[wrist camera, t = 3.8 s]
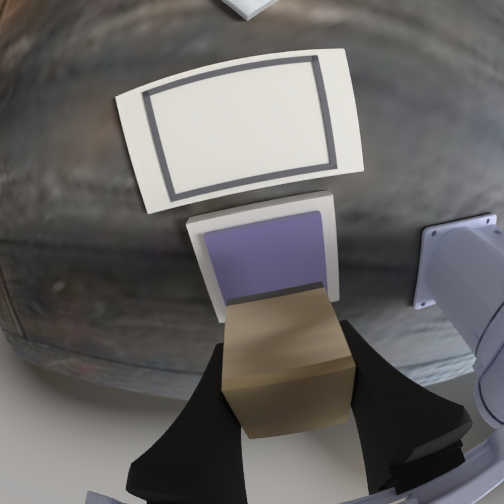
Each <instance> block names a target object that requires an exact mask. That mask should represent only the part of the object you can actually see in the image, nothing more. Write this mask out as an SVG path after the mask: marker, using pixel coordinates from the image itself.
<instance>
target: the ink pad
mask: <svg viewBox="0 0 504 504" xmlns="http://www.w3.org/2000/svg"><path fill="white" fill-rule="evenodd" d="M186 227H187V230H188V233H189V236H190V239H191V242H192V245H193V248H194V252H195V255H196V258H197V261H198V264H199V267H200V270H201V272H202V275H203V278H204V281H205V284H206V287H207V290H208V293H209V295H210V298H211V301H212V304H213V307H214V309H215V312H216V315H217V318H218V320H219V323H224V322H225V317H226V302H227V299H231V298H237V297H243V296H248V295H254V294H259V293H265V292H270V291H275V290H280V289H286V288H291V287H296V286H301V285H306V284H310V283H315V282H320V281H322V283H323V285H324V288H325V290H326V292H327V295H328V297H329V300H330V302H335V301H339V270H338V251H337V235H336V223H335V211H334V201H333V195H332V194H331V193H330V192H329V191H328V190H324V191H318V192H312V193H306V194H301V195H295V196H290V197H284V198H279V199H274V200H269V201H263V202H258V203H253V204H249V205H244V206H239V207H234V208H229V209H225V210H220V211H215V212H211V213H206V214H202V215H198V216H193V217H189V219H188V221H187V223H186Z"/></svg>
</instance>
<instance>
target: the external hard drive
mask: <svg viewBox="0 0 504 504" xmlns="http://www.w3.org/2000/svg"><path fill="white" fill-rule="evenodd" d="M221 1H223V2H224V3H225V4H226V5H228V6H229V7H230V8H232V9H233V10H234V11H235V12H236V13H238V14H239V15H240V16H241V17H243V18H244V19H245V20H246V21H248V20H249V19H251V18H252V17H254V16H255V15H256V14H258V13H259V12H261V11H263V10H264V9H266V8H267V7H269V6H270V5H272V4H274V3H275V2H277V1H279V0H221Z"/></svg>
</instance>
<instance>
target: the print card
mask: <svg viewBox="0 0 504 504" xmlns="http://www.w3.org/2000/svg"><path fill="white" fill-rule="evenodd" d="M115 98H116V102H117V107H118V111H119V115H120V120H121V124H122V128H123V132H124V136H125V139H126V143H127V147H128V151H129V154H130V158H131V161H132V165H133V168H134V172H135V175H136V178H137V181H138V185H139V188H140V191H141V194H142V197H143V200H144V204H145V207H146V210H147V213H148V214H151V213H154V212H158V211H162V210H166V209H170V208H174V207H178V206H182V205H186V204H190V203H194V202H198V201H203V200H207V199H211V198H216V197H220V196H225V195H229V194H234V193H239V192H243V191H248V190H253V189H258V188H263V187H268V186H274V185H279V184H284V183H290V182H296V181H301V180H307V179H313V178H319V177H326V176H332V175H339V174H346V173H353V172H360V171H364V167H363V157H362V148H361V139H360V132H359V124H358V117H357V111H356V105H355V99H354V93H353V88H352V83H351V78H350V73H349V68H348V64H347V59H346V55H345V51H344V49H316V50H301V51H290V52H281V53H273V54H266V55H259V56H253V57H247V58H241V59H236V60H231V61H226V62H222V63H217V64H213V65H209V66H205V67H201V68H197V69H193V70H190V71H186V72H183V73H179V74H176V75H173V76H170V77H167V78H164V79H161V80H158V81H155V82H152V83H149V84H146V85H144V86H141V87H138V88H136V89H133V90H131V91H128V92H126V93H123V94H121V95H119V96H116V97H115Z"/></svg>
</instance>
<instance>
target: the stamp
mask: <svg viewBox="0 0 504 504" xmlns="http://www.w3.org/2000/svg"><path fill="white" fill-rule="evenodd" d="M355 369H356V365H355V363H354V360H353V357H352V355H351V352H350V349H349V347H348V344H347V342H346V339H345V337H344V334H343V331H342V329H341V326H340V324H339V321H338V319H337V317H336V314H335V312H334V309H333V307H332V304H331V302H330V300H329V297H328V295H327V292H326V290H325V288H324V285H323V283H322V281H320V282H315V283H310V284H306V285H301V286H296V287H291V288H286V289H280V290H275V291H270V292H265V293H259V294H254V295H248V296H243V297H237V298H231V299H227V302H226V317H225V334H224V351H223V370H222V390H221V391H222V392H223V394H224V396H225V398H226V400H227V402H228V403H229V405H230V407H231V409H232V410H233V412H234V414H235V416H236V417H237V419H238V421H239V423H240V424H241V426H242V427H243V429H244V431H245V433H246V434H247V436H248V437H249V439H256V438H265V437H272V436H280V435H287V434H292V433H299V432H304V431H309V430H314V429H319V428H324V427H328V426H332V425H336V424H340V423H344V422H348V416H349V410H350V405H351V398H352V392H353V385H354V377H355Z"/></svg>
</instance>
